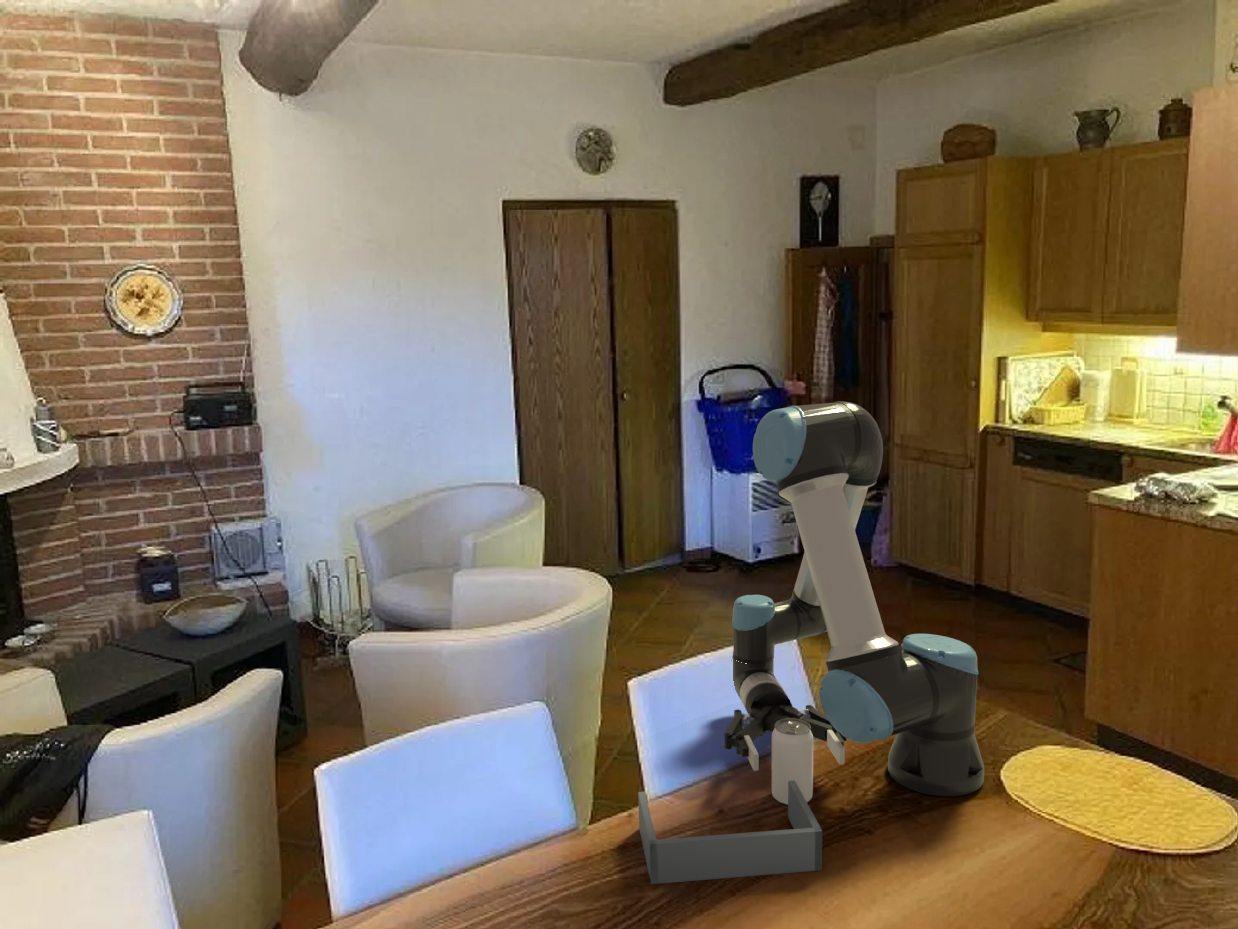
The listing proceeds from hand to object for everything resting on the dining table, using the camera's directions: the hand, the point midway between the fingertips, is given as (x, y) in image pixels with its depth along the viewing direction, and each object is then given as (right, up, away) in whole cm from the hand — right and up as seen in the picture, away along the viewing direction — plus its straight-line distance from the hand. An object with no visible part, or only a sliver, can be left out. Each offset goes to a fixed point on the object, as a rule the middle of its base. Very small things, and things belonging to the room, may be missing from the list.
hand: (799, 759), depth 152 cm
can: (0, -7, +5) cm, 9 cm away
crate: (-12, -10, -9) cm, 18 cm away
